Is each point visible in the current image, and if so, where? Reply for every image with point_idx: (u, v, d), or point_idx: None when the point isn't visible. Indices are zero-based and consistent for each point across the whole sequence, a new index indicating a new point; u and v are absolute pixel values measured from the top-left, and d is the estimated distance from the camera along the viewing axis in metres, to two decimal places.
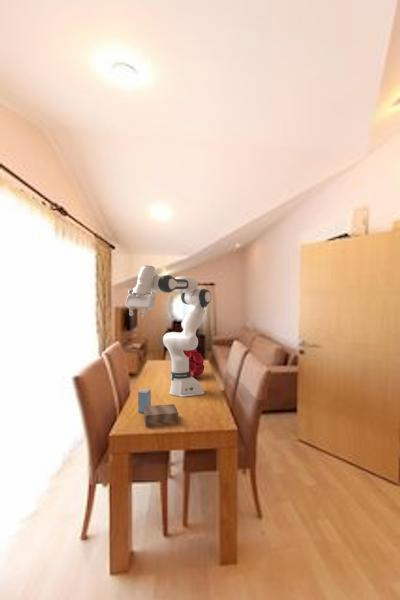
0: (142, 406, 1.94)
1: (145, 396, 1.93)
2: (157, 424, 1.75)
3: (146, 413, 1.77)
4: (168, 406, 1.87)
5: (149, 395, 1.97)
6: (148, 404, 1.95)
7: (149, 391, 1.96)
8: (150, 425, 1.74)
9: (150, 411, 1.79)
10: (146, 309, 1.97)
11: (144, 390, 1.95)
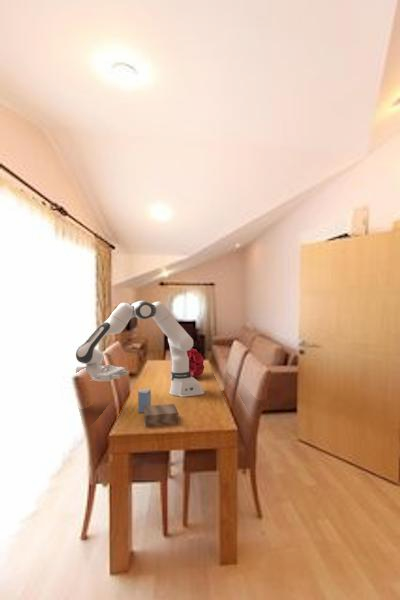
0: (142, 406, 1.94)
1: (145, 396, 1.93)
2: (157, 424, 1.75)
3: (146, 413, 1.77)
4: (168, 406, 1.87)
5: (149, 395, 1.97)
6: (148, 404, 1.95)
7: (149, 391, 1.96)
8: (150, 425, 1.74)
9: (150, 411, 1.79)
10: (111, 377, 1.95)
11: (144, 390, 1.95)
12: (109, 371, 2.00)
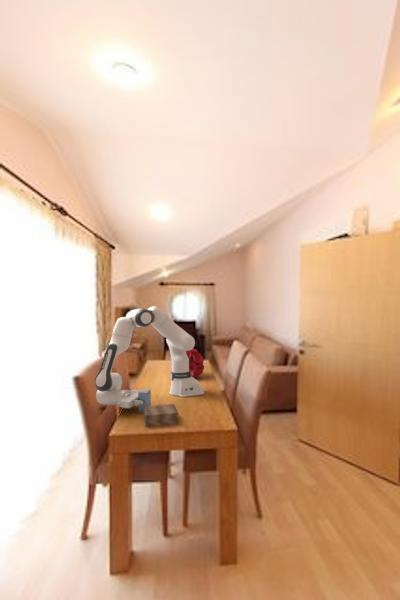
0: (142, 406, 1.94)
1: (145, 396, 1.93)
2: (157, 424, 1.75)
3: (146, 413, 1.77)
4: (168, 406, 1.87)
5: (149, 395, 1.97)
6: (148, 404, 1.95)
7: (149, 391, 1.96)
8: (150, 425, 1.74)
9: (150, 411, 1.79)
10: (135, 402, 1.93)
11: (144, 390, 1.95)
12: (130, 396, 1.97)
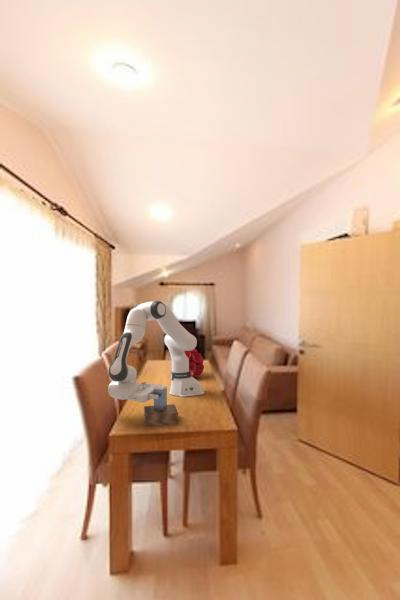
0: (158, 404, 1.80)
1: (162, 393, 1.79)
2: (157, 424, 1.75)
3: (146, 413, 1.77)
4: (168, 406, 1.87)
5: (166, 392, 1.83)
6: (164, 402, 1.81)
7: (165, 388, 1.82)
8: (150, 425, 1.75)
9: (150, 411, 1.80)
10: (149, 397, 1.77)
11: (160, 387, 1.81)
12: (145, 390, 1.83)
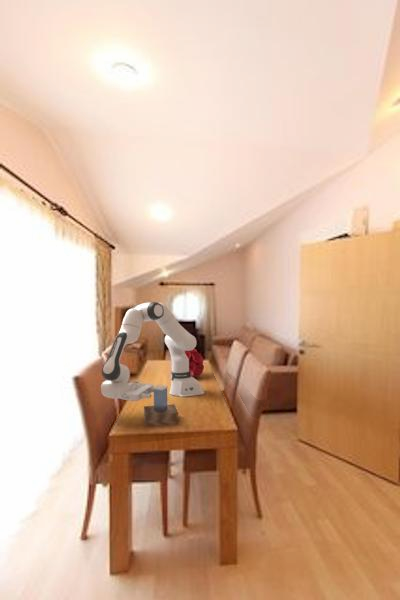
0: (158, 404, 1.80)
1: (161, 393, 1.79)
2: (157, 424, 1.75)
3: (146, 413, 1.77)
4: (168, 406, 1.87)
5: (166, 393, 1.82)
6: (164, 402, 1.81)
7: (165, 388, 1.82)
8: (150, 425, 1.74)
9: (150, 411, 1.79)
10: (141, 396, 1.78)
11: (160, 387, 1.81)
12: (138, 389, 1.84)
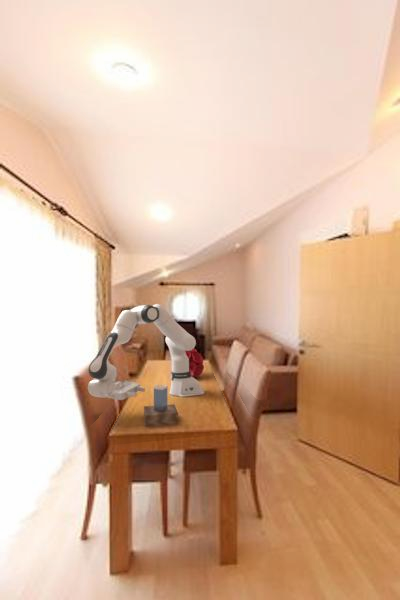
0: (158, 404, 1.80)
1: (161, 393, 1.79)
2: (157, 424, 1.75)
3: (146, 413, 1.77)
4: (168, 406, 1.87)
5: (166, 393, 1.83)
6: (164, 402, 1.81)
7: (165, 388, 1.82)
8: (150, 425, 1.74)
9: (150, 411, 1.79)
10: (127, 395, 1.80)
11: (160, 387, 1.81)
12: (124, 388, 1.86)
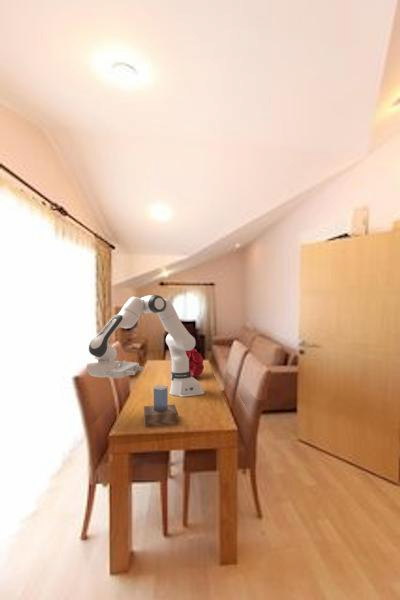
0: (157, 404, 1.80)
1: (161, 393, 1.79)
2: (157, 424, 1.75)
3: (146, 413, 1.77)
4: (168, 406, 1.87)
5: (166, 393, 1.82)
6: (164, 402, 1.81)
7: (165, 388, 1.82)
8: (150, 425, 1.74)
9: (150, 411, 1.79)
10: (126, 373, 1.80)
11: (160, 387, 1.81)
12: (123, 367, 1.86)
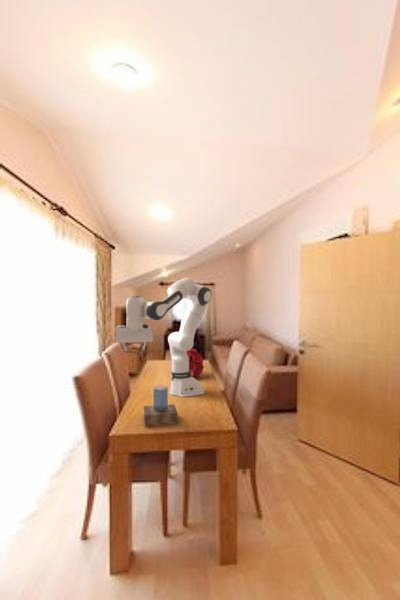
0: (157, 404, 1.80)
1: (160, 394, 1.79)
2: (156, 424, 1.75)
3: (145, 413, 1.77)
4: (168, 406, 1.87)
5: (166, 393, 1.82)
6: (164, 402, 1.80)
7: (165, 388, 1.81)
8: (149, 425, 1.75)
9: (150, 411, 1.80)
10: None
11: (160, 387, 1.81)
12: (131, 335, 1.96)
